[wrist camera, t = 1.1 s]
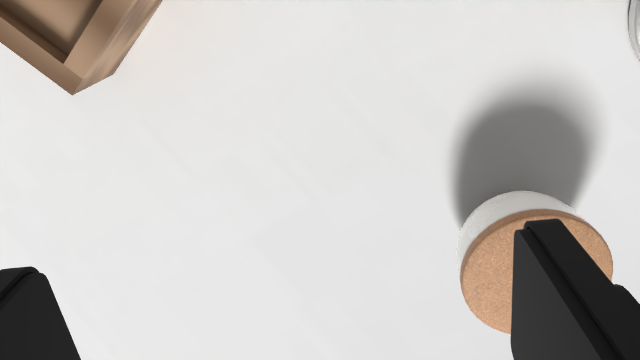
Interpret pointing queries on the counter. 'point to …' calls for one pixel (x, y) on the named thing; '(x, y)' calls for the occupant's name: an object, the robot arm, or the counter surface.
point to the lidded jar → (511, 249)
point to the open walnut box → (74, 36)
